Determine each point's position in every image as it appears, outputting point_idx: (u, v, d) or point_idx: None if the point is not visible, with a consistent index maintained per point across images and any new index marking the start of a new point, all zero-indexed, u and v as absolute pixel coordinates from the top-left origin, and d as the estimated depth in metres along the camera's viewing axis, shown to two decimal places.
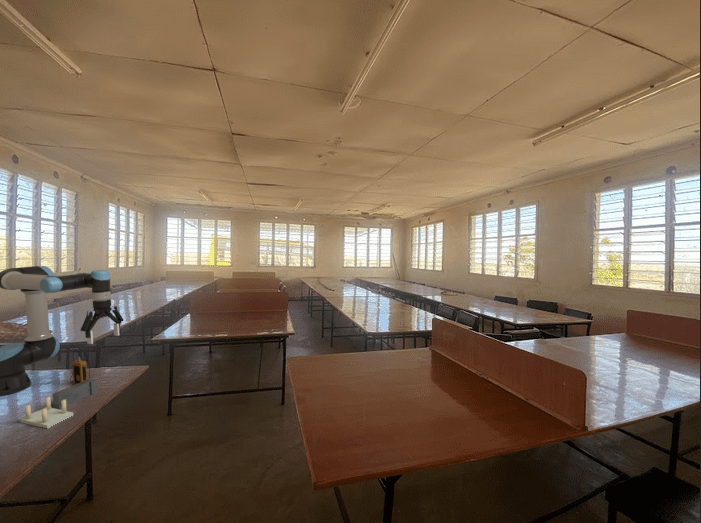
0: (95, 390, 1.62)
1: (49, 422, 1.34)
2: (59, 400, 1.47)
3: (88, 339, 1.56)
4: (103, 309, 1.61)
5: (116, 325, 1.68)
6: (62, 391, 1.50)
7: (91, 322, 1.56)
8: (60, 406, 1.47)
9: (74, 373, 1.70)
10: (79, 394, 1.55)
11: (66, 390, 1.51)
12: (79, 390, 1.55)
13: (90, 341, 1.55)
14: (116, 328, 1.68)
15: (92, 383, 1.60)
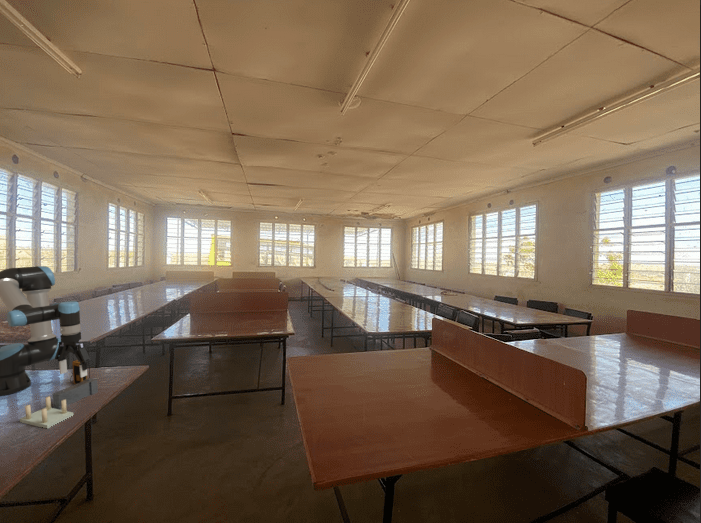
0: (95, 390, 1.62)
1: (49, 422, 1.34)
2: (59, 400, 1.47)
3: None
4: (68, 343, 1.51)
5: None
6: (62, 391, 1.50)
7: None
8: (60, 406, 1.47)
9: (74, 373, 1.70)
10: (79, 394, 1.55)
11: (66, 390, 1.51)
12: (79, 390, 1.55)
13: None
14: None
15: (92, 383, 1.60)
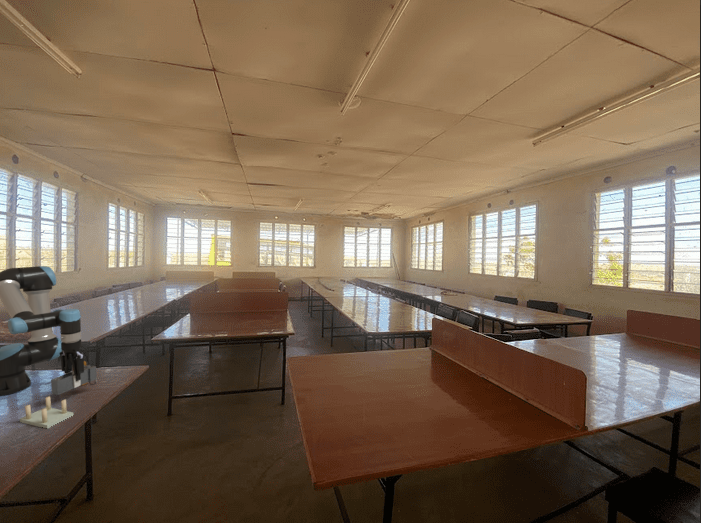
0: (94, 377, 1.61)
1: (49, 422, 1.34)
2: (58, 386, 1.46)
3: None
4: (68, 351, 1.52)
5: None
6: (61, 377, 1.49)
7: None
8: (58, 392, 1.47)
9: None
10: None
11: (65, 376, 1.50)
12: None
13: None
14: None
15: (91, 370, 1.60)
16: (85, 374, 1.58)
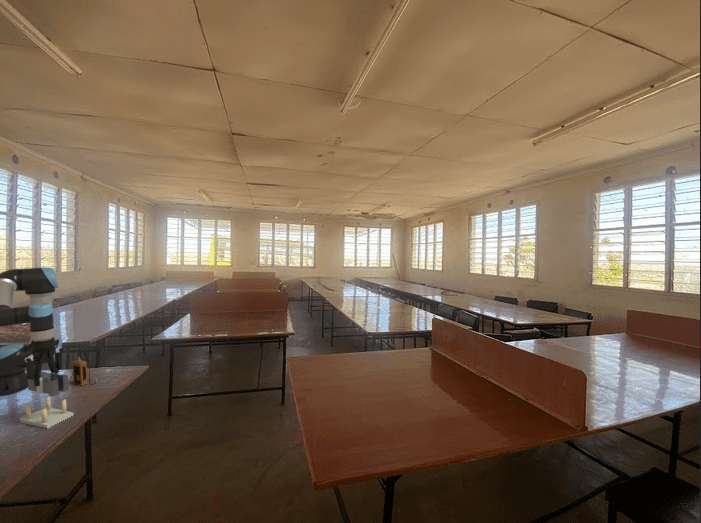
0: (51, 393, 1.33)
1: (49, 422, 1.34)
2: (28, 380, 1.37)
3: None
4: None
5: None
6: None
7: None
8: (28, 387, 1.38)
9: (74, 373, 1.70)
10: None
11: None
12: None
13: None
14: None
15: (48, 382, 1.33)
16: (47, 383, 1.34)
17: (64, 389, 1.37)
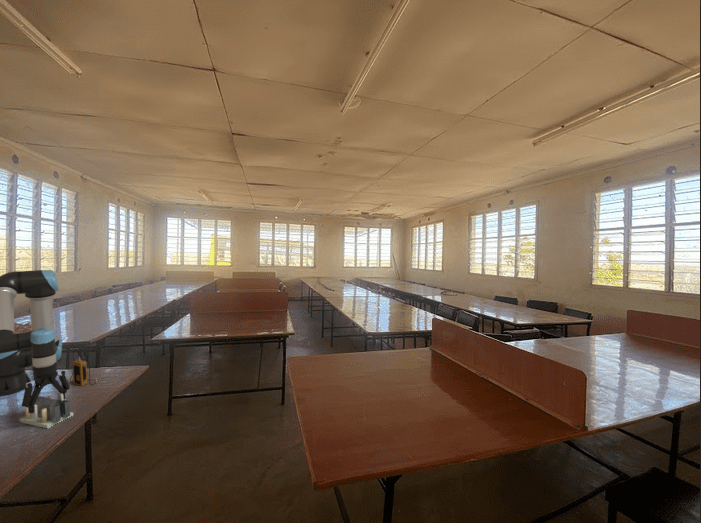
0: (53, 419, 1.34)
1: (49, 422, 1.34)
2: None
3: None
4: None
5: None
6: (39, 399, 1.40)
7: None
8: None
9: (74, 373, 1.70)
10: None
11: (39, 400, 1.39)
12: (43, 408, 1.36)
13: None
14: None
15: (50, 409, 1.34)
16: (49, 410, 1.35)
17: (66, 415, 1.38)
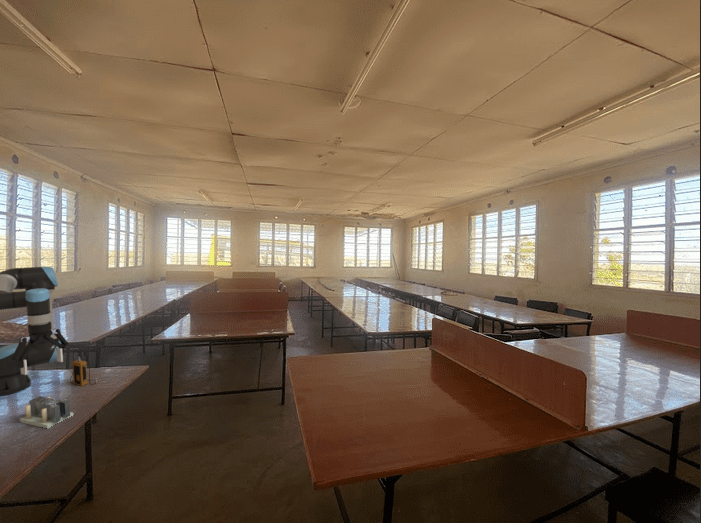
0: (53, 419, 1.34)
1: (49, 422, 1.34)
2: None
3: None
4: None
5: None
6: (39, 399, 1.40)
7: None
8: None
9: (74, 373, 1.70)
10: None
11: (39, 400, 1.39)
12: (43, 408, 1.36)
13: None
14: None
15: (50, 409, 1.34)
16: (49, 410, 1.35)
17: (66, 415, 1.38)
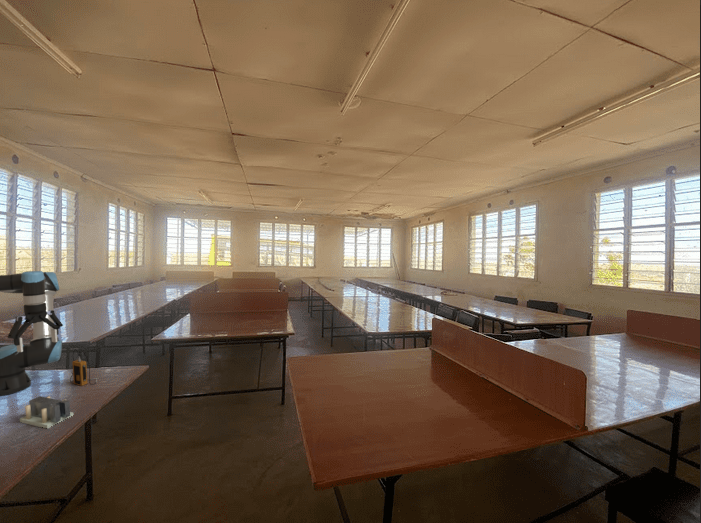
0: (53, 419, 1.34)
1: (49, 422, 1.34)
2: None
3: None
4: None
5: None
6: (39, 399, 1.40)
7: None
8: None
9: (74, 373, 1.70)
10: None
11: (39, 400, 1.39)
12: (43, 408, 1.36)
13: None
14: None
15: (50, 409, 1.34)
16: (49, 410, 1.35)
17: (66, 415, 1.38)
